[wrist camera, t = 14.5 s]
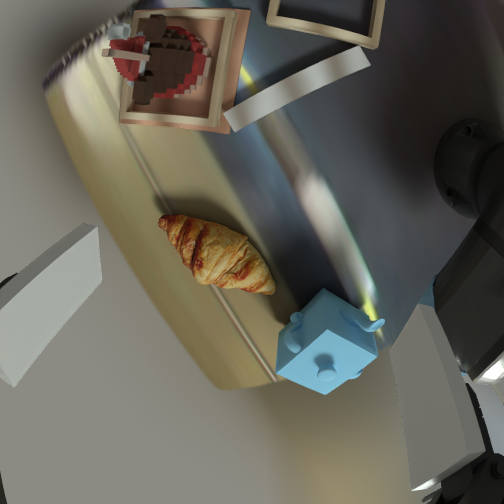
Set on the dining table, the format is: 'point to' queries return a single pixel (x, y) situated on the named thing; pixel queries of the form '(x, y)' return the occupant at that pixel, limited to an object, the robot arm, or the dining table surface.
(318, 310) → the teapot
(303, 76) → the square wooden frames
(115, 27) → the cake
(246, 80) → the dining table surface
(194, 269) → the croissant
